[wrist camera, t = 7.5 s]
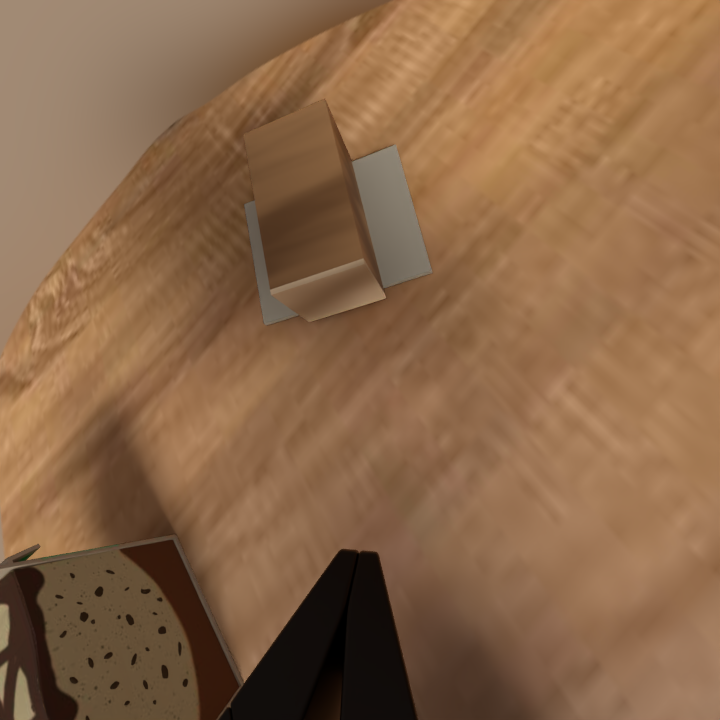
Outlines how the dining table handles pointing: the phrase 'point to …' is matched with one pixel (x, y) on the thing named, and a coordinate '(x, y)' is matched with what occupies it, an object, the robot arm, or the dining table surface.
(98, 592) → the food container
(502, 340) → the dining table surface
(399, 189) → the mat
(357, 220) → the walnut block
